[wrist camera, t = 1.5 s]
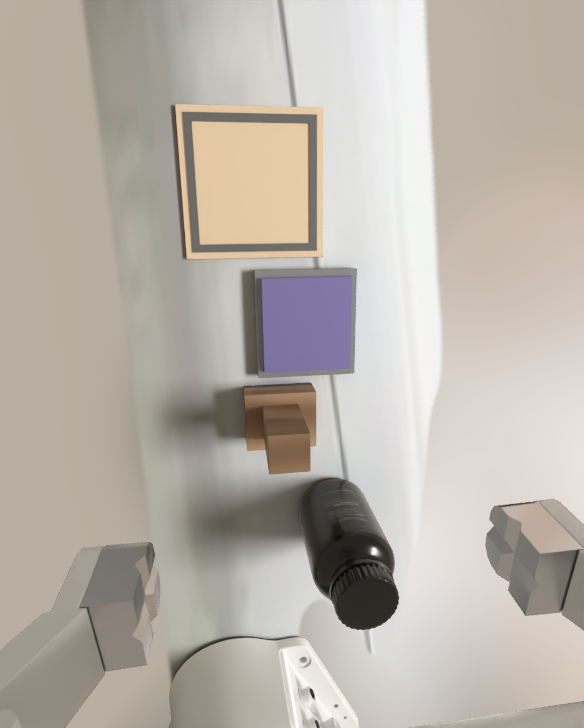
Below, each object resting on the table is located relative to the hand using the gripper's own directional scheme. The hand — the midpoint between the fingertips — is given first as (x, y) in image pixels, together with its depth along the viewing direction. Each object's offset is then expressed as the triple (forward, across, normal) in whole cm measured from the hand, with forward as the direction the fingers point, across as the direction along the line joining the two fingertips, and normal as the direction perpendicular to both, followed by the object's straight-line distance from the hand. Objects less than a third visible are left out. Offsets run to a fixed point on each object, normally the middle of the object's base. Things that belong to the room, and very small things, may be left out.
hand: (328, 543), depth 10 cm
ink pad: (+28, +3, -3) cm, 28 cm away
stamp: (+27, +1, -11) cm, 29 cm away
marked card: (+29, 0, +8) cm, 30 cm away
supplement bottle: (+26, +5, -21) cm, 34 cm away
